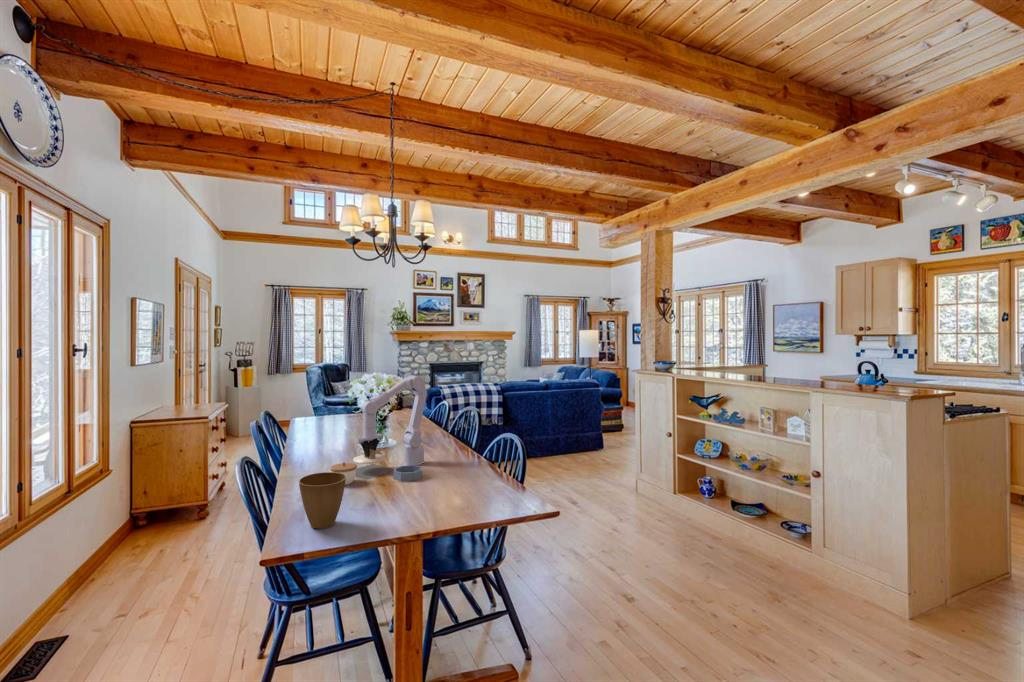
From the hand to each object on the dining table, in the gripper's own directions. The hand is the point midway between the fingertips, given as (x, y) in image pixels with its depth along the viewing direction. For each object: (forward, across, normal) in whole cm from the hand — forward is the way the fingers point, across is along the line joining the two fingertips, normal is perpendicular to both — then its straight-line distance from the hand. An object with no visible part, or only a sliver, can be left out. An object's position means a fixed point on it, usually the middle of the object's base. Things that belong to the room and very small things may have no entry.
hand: (369, 456), depth 226 cm
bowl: (+8, -4, +21) cm, 23 cm away
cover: (+2, 0, 0) cm, 2 cm away
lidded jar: (+8, +18, +5) cm, 20 cm away
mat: (+8, 0, 0) cm, 8 cm away
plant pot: (+8, +50, +37) cm, 63 cm away
